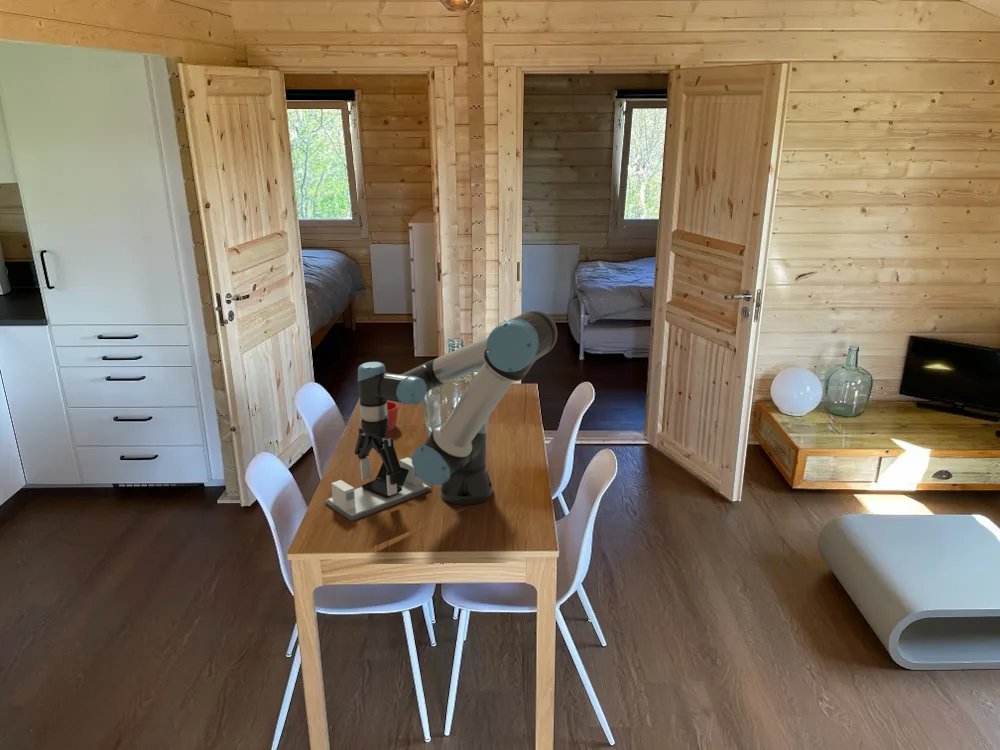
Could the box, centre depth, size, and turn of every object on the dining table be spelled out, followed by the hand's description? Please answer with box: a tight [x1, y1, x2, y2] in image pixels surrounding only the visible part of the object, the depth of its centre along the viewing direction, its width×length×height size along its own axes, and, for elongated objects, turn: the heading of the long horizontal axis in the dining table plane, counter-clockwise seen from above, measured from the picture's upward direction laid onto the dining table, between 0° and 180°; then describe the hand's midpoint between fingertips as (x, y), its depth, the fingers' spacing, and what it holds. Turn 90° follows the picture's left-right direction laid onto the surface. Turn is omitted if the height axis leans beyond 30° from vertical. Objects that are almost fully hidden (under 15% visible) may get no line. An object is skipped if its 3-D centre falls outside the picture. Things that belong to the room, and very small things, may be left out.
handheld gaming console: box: [361, 462, 409, 498], centre depth 211 cm, size 11×10×4 cm
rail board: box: [324, 457, 432, 522], centre depth 208 cm, size 14×27×8 cm, turn 133°
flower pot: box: [386, 401, 399, 433], centre depth 257 cm, size 11×11×10 cm
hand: (378, 486), depth 208 cm, fingers open, 13 cm apart
